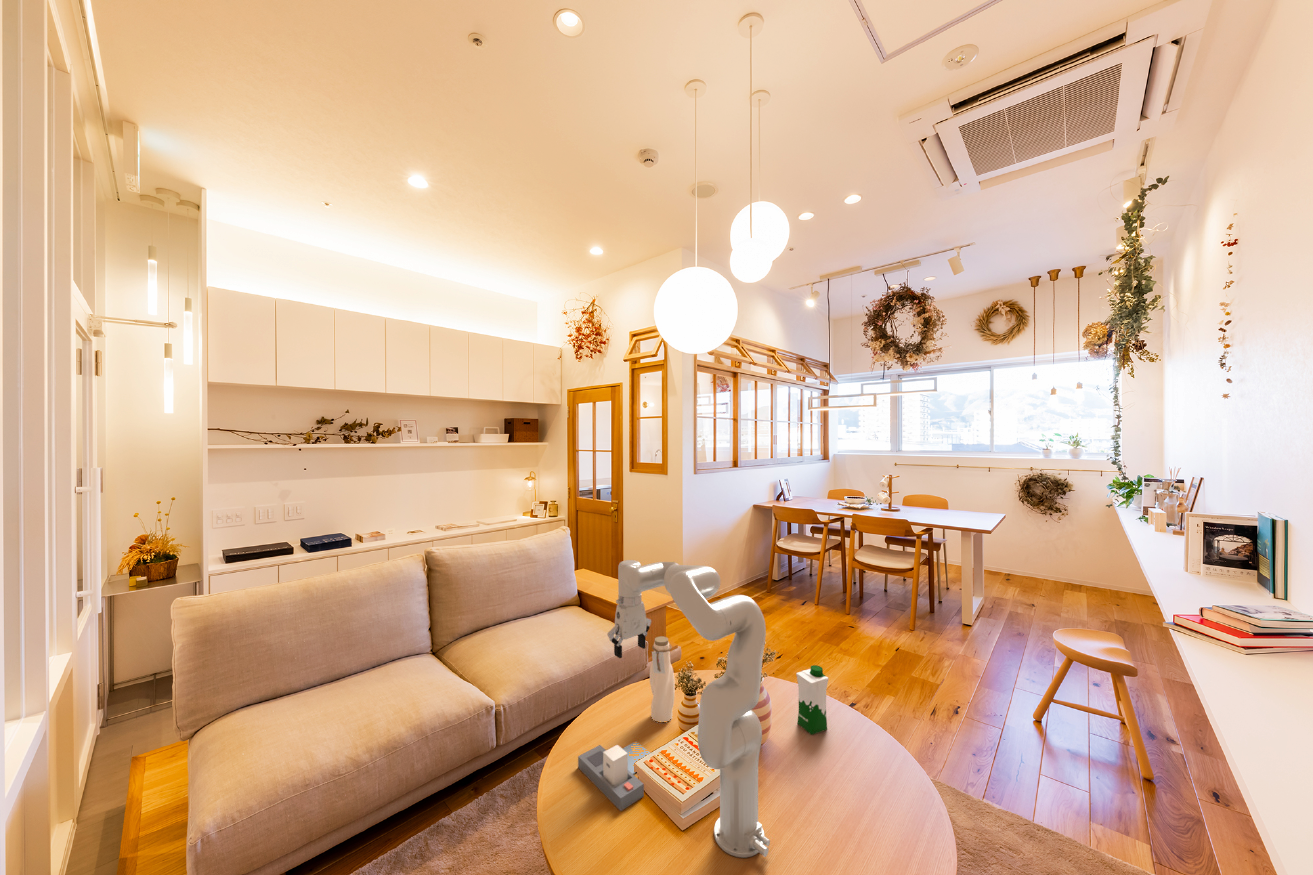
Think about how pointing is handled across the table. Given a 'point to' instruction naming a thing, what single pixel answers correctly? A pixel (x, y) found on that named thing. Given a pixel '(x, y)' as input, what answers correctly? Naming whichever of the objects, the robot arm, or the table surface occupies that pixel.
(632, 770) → the coaster
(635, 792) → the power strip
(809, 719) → the milk carton
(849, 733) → the table surface
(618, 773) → the block
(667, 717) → the water bottle
